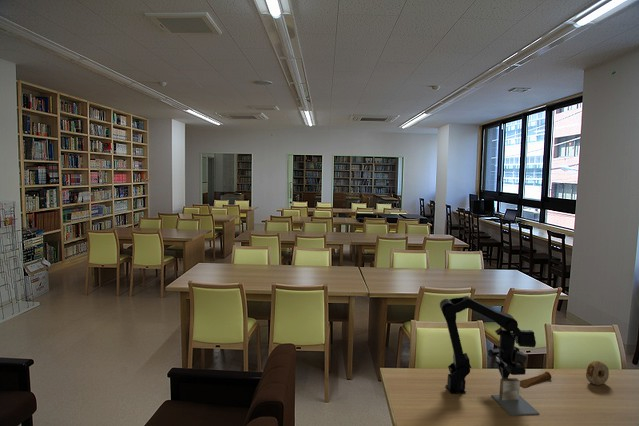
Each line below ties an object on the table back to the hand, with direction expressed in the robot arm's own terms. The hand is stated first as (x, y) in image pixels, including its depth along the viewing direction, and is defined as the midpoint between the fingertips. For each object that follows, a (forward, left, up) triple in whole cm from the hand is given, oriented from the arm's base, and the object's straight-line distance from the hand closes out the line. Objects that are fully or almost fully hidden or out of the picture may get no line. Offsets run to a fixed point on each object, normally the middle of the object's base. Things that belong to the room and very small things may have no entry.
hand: (504, 380), depth 174 cm
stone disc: (+48, +6, -6) cm, 49 cm away
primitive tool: (+20, +9, -7) cm, 23 cm away
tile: (0, -4, -6) cm, 7 cm away
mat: (0, -8, -6) cm, 10 cm away
